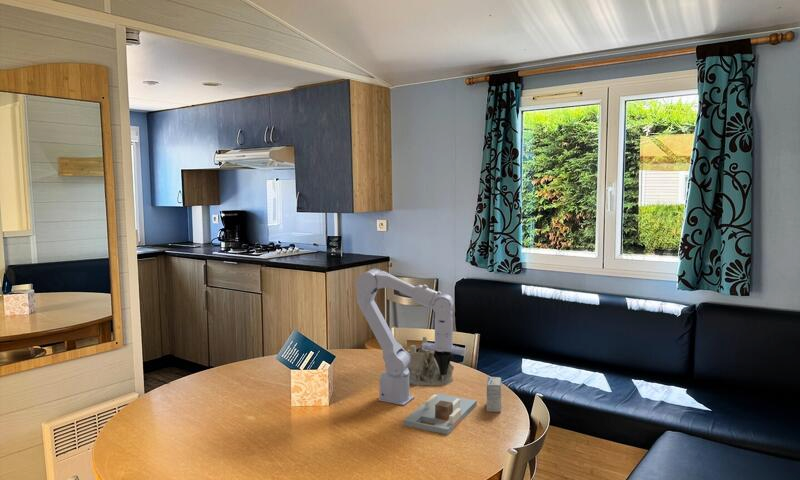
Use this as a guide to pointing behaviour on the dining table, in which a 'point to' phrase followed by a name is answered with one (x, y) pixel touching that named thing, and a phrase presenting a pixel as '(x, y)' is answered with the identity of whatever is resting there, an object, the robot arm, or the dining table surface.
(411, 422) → the deck
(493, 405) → the medicine box
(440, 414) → the block
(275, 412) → the dining table surface
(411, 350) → the ceramic cottage
